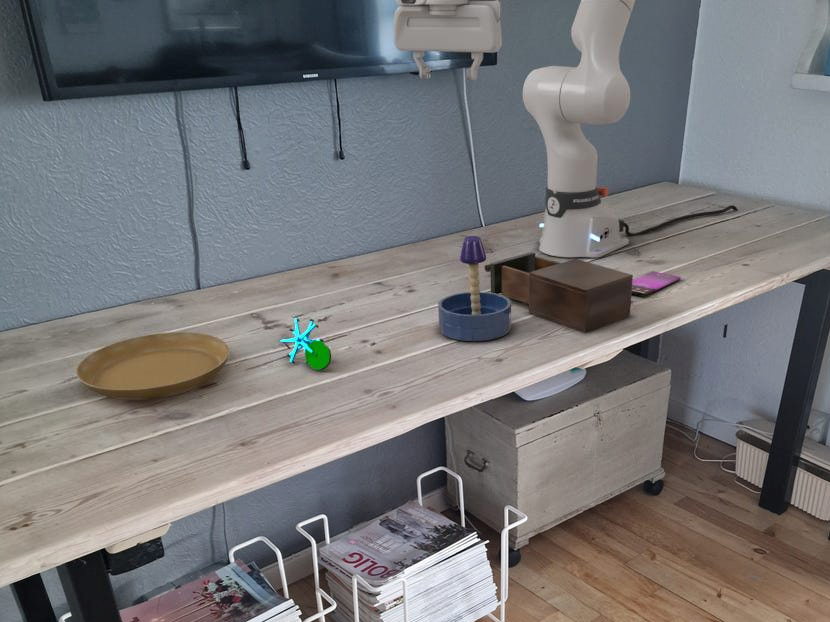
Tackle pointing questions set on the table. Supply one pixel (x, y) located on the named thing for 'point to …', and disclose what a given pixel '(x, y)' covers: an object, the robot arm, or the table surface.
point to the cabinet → (580, 294)
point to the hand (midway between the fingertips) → (448, 79)
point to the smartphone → (651, 282)
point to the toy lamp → (473, 267)
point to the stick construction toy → (310, 347)
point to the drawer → (515, 275)
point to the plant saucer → (153, 365)
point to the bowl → (474, 317)
